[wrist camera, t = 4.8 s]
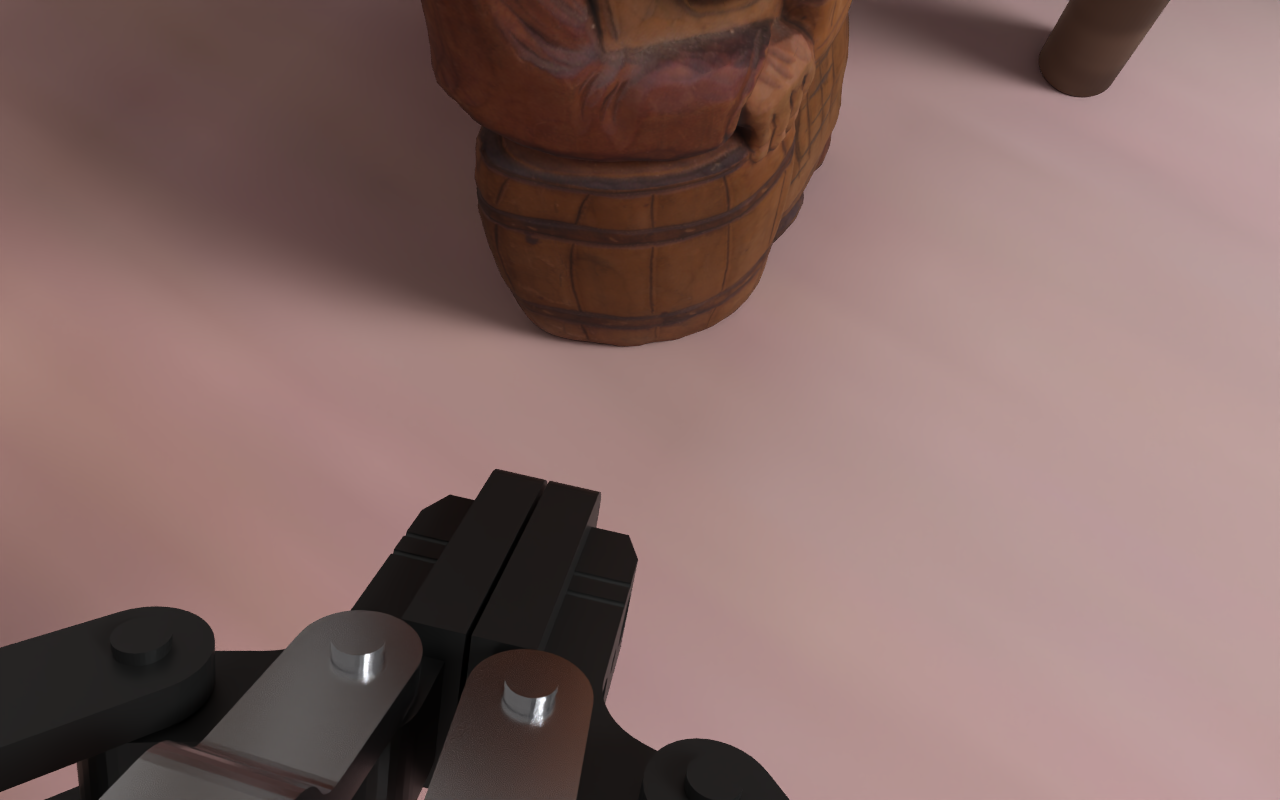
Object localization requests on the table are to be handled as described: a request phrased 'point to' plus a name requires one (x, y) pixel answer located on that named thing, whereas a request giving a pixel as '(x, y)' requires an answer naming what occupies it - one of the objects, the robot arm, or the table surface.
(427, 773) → the robot arm
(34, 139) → the table surface
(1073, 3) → the stand
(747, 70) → the wooden figurine
